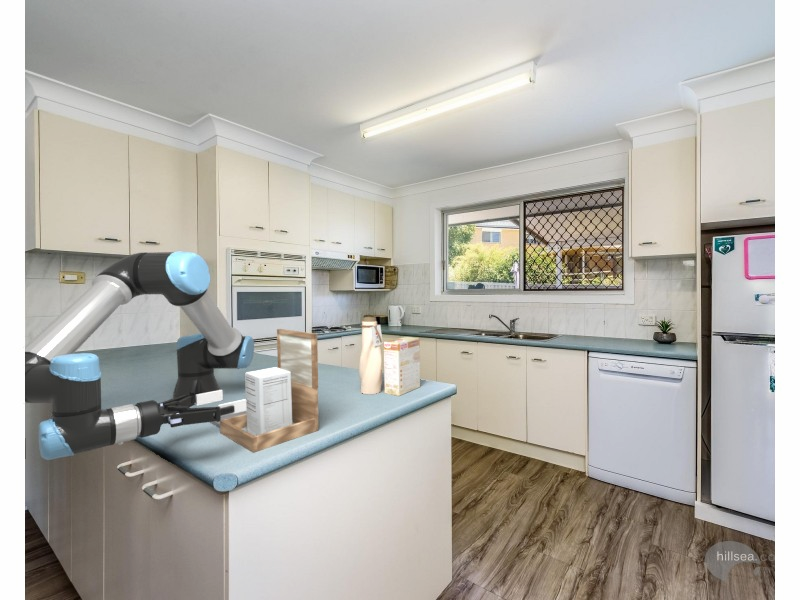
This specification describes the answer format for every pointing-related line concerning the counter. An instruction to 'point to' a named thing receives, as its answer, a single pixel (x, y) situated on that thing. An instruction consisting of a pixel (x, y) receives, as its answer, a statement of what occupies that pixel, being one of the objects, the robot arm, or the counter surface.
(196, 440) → the counter surface
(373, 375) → the water bottle
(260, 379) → the supplement box
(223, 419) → the mat
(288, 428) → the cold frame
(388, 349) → the coffeecake box
